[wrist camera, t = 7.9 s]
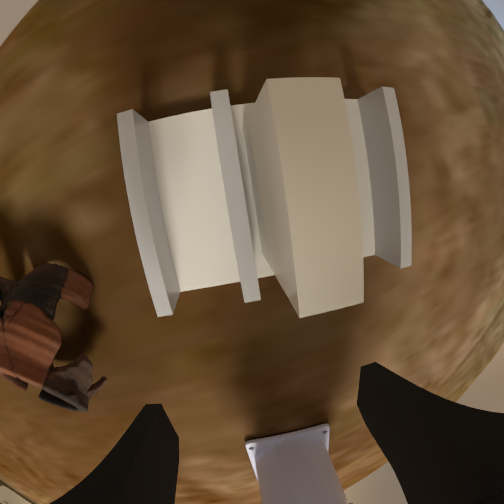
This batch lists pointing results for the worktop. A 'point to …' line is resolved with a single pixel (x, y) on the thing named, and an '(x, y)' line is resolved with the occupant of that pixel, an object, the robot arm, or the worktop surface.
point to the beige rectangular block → (307, 192)
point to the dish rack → (244, 194)
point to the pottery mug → (44, 336)
